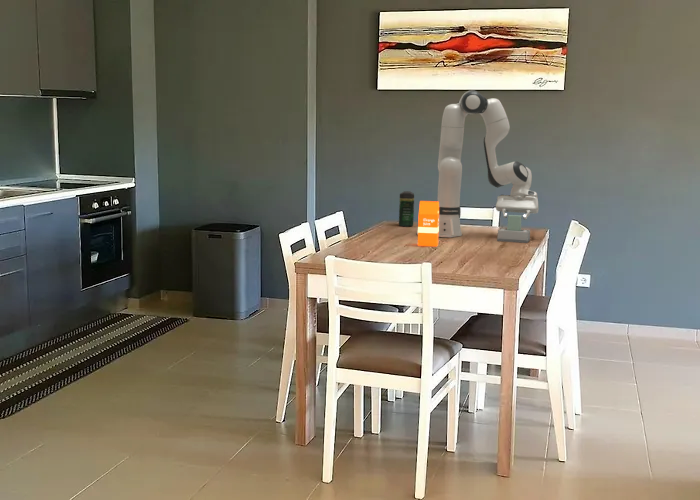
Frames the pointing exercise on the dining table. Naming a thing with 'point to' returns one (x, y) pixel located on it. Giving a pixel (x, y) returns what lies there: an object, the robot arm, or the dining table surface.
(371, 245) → the dining table surface
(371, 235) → the dining table surface
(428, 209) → the orange juice
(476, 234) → the dining table surface
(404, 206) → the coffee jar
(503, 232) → the gray slotted block
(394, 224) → the dining table surface
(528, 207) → the robot arm
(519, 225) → the green rectangular block
